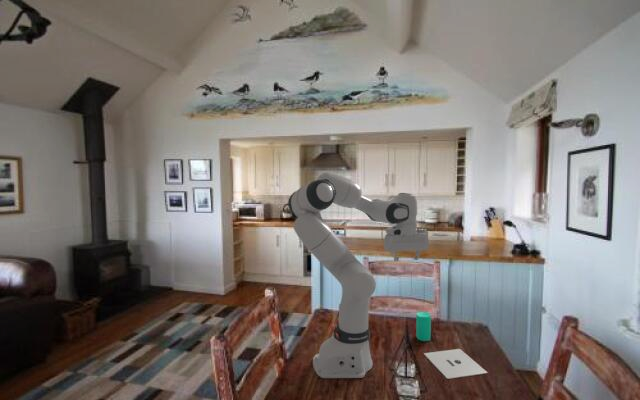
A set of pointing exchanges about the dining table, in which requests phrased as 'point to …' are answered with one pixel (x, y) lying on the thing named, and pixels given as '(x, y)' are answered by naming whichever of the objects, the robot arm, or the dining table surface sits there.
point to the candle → (423, 326)
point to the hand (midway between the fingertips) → (406, 260)
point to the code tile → (454, 363)
